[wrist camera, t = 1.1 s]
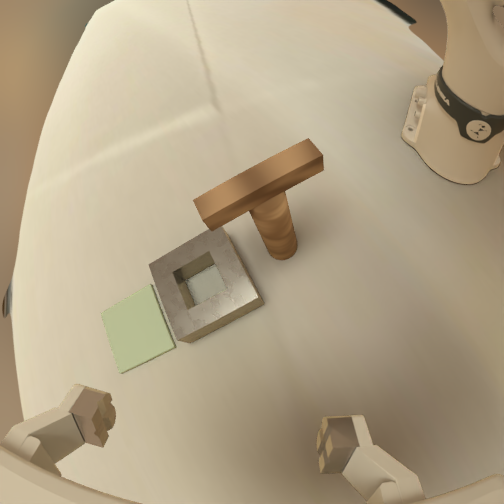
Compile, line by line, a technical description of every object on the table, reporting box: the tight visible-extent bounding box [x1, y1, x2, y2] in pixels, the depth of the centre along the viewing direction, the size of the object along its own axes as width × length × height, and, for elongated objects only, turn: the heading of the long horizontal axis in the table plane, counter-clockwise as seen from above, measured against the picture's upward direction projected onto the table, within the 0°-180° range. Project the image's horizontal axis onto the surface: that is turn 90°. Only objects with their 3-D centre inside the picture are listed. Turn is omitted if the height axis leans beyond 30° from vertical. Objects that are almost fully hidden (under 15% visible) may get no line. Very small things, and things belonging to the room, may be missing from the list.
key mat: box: [101, 284, 176, 374], centre depth 42 cm, size 10×10×1 cm
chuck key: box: [193, 138, 324, 260], centre depth 34 cm, size 12×4×16 cm, turn 116°
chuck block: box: [149, 226, 264, 343], centre depth 40 cm, size 11×11×4 cm
